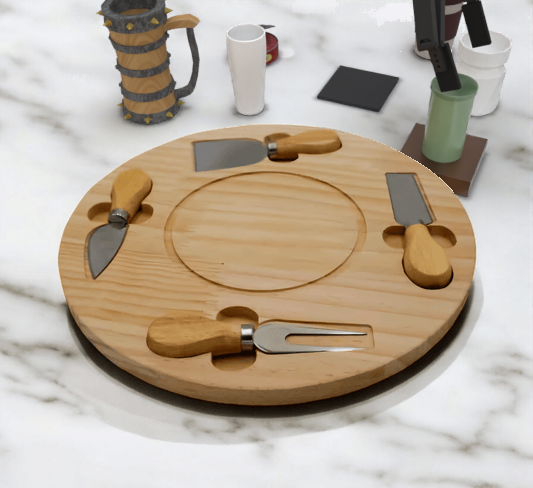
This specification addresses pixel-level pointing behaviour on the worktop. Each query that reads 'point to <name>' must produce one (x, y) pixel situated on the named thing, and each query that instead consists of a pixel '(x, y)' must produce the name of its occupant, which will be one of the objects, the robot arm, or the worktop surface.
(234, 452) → the worktop surface
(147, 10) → the mug
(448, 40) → the coffee cup
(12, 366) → the worktop surface
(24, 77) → the worktop surface
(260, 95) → the drinking glass
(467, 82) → the tumbler
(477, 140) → the display stand
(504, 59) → the vase
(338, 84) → the mat
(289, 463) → the worktop surface
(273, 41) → the canned food
